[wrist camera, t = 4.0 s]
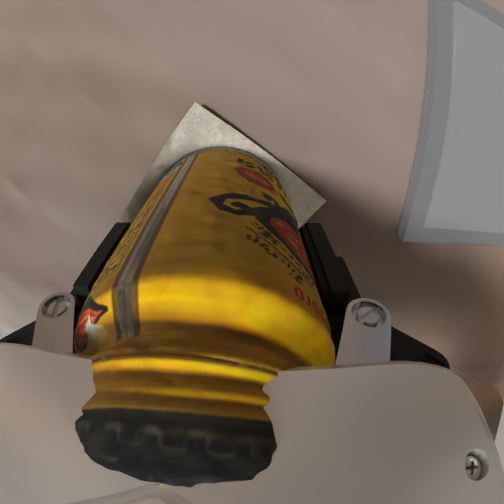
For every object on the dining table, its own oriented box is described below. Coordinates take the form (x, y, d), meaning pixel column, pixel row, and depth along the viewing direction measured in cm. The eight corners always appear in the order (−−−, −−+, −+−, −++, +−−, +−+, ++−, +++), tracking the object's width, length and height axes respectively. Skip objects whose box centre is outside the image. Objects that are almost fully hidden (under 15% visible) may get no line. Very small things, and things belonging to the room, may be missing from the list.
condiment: (326, 199, 14) (451, 466, 3) (220, 308, 17) (209, 526, 7) (195, 101, 11) (-75, 299, 1) (108, 242, 14) (2, 458, 4)
